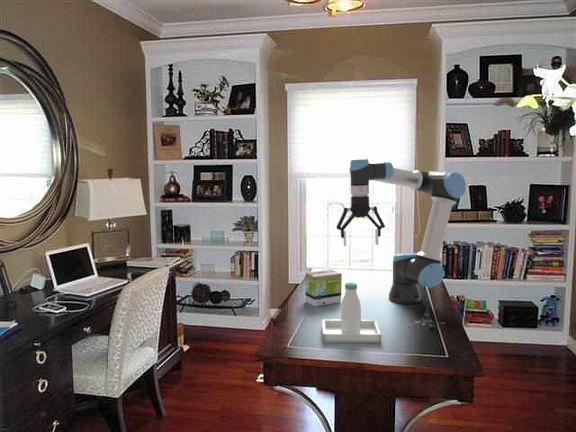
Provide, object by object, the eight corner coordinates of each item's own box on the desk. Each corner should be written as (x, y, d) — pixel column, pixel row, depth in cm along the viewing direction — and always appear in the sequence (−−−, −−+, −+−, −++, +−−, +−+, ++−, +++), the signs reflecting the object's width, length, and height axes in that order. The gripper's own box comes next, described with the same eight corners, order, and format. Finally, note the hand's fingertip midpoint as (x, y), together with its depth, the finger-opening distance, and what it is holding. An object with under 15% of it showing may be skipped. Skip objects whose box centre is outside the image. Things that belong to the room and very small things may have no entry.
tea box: (315, 307, 224) (315, 277, 222) (304, 301, 233) (304, 272, 231) (341, 302, 231) (342, 272, 229) (330, 297, 240) (330, 268, 238)
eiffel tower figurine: (445, 323, 202) (446, 293, 201) (446, 332, 193) (447, 300, 191) (408, 321, 206) (409, 291, 204) (408, 329, 196) (409, 298, 195)
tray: (375, 328, 197) (375, 319, 196) (381, 343, 181) (381, 334, 181) (322, 327, 198) (322, 319, 198) (323, 342, 182) (323, 334, 182)
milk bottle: (360, 337, 185) (360, 287, 182) (340, 335, 186) (340, 286, 184) (361, 329, 192) (361, 281, 190) (341, 328, 194) (342, 280, 191)
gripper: (330, 197, 196) (332, 247, 199) (391, 195, 196) (391, 245, 199) (329, 195, 204) (331, 244, 207) (388, 193, 203) (388, 241, 206)
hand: (360, 244), depth 203 cm, fingers open, 13 cm apart
